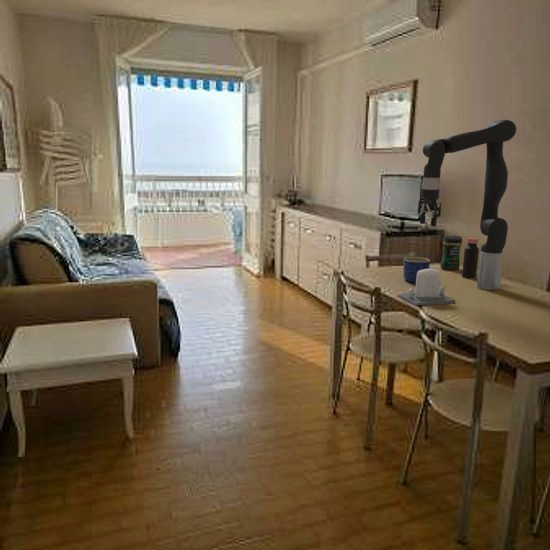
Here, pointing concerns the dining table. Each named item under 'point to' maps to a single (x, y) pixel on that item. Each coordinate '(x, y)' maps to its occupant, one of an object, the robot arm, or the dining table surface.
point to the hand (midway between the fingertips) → (427, 225)
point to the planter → (414, 267)
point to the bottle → (470, 259)
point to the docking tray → (426, 301)
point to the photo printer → (427, 283)
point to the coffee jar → (451, 252)
